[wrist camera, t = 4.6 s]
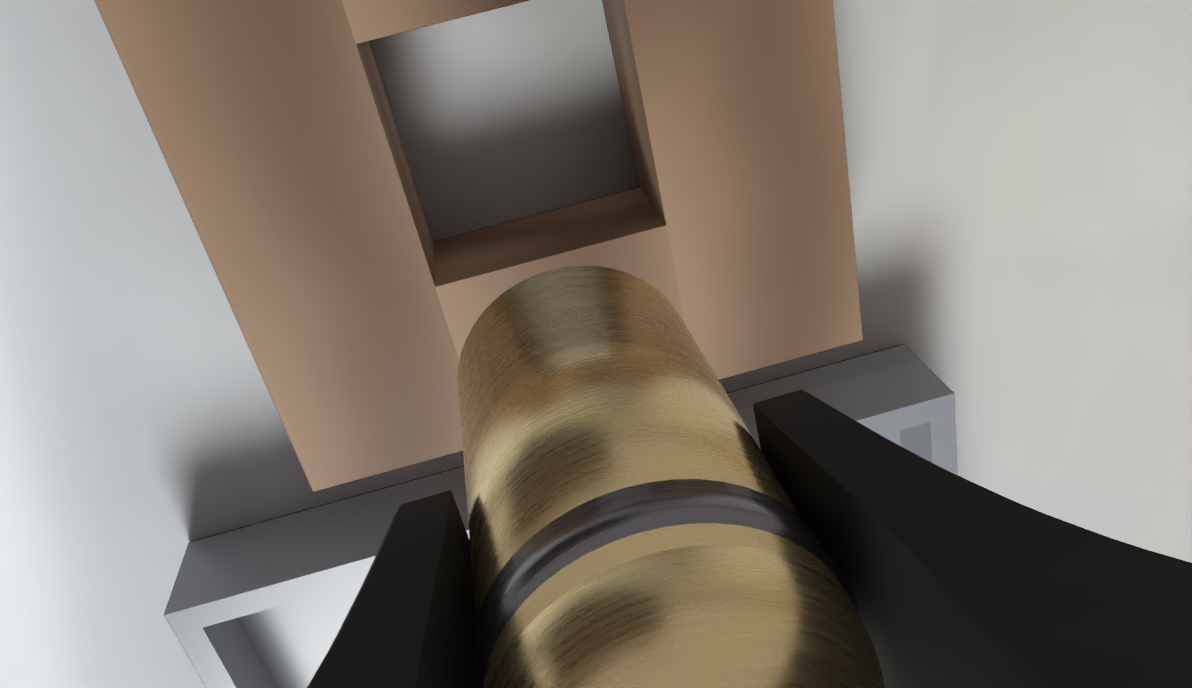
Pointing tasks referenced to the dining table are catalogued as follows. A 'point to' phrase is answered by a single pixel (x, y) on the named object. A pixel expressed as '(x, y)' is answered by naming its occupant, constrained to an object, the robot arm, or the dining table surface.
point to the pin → (632, 508)
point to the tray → (358, 526)
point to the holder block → (503, 252)
